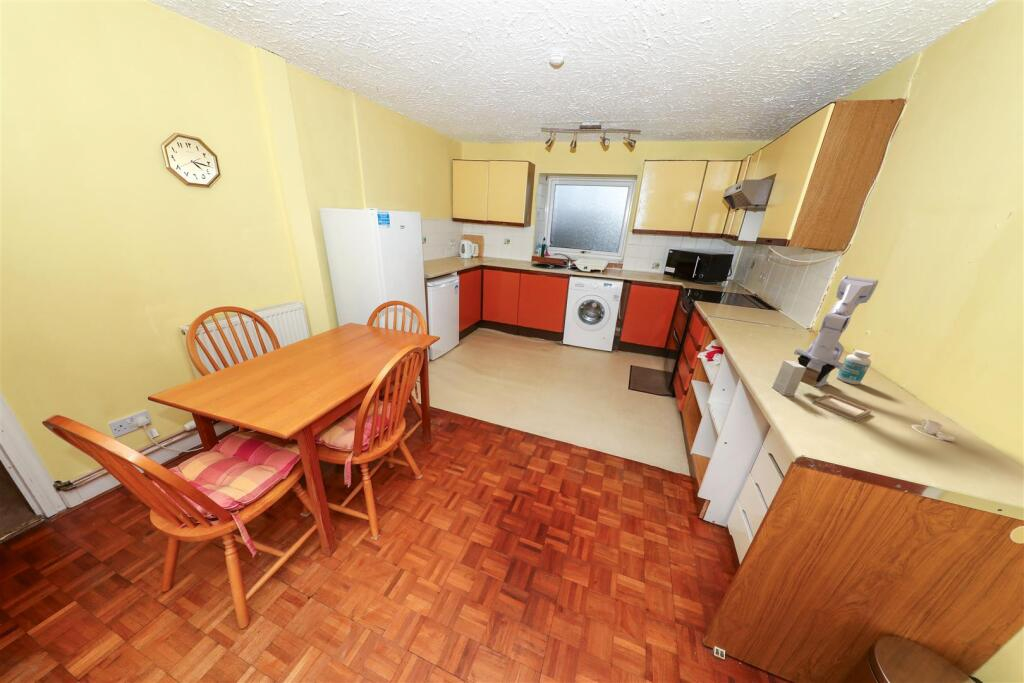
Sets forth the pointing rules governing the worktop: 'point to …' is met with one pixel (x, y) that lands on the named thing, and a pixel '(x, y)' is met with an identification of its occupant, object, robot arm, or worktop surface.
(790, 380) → the skincare box
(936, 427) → the teacup and saucer
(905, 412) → the worktop surface
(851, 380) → the pill bottle
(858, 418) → the tray
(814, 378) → the cube
